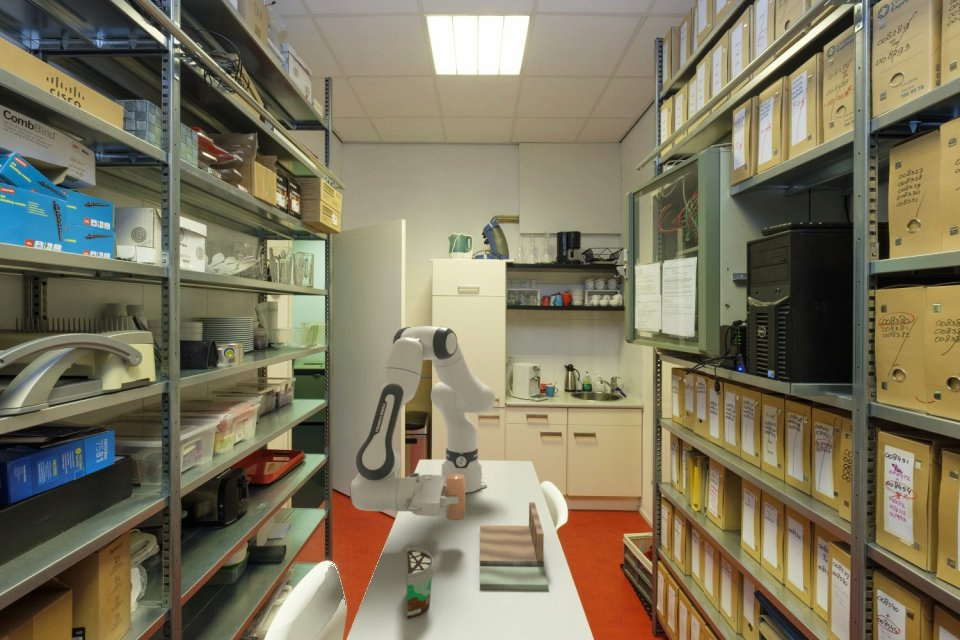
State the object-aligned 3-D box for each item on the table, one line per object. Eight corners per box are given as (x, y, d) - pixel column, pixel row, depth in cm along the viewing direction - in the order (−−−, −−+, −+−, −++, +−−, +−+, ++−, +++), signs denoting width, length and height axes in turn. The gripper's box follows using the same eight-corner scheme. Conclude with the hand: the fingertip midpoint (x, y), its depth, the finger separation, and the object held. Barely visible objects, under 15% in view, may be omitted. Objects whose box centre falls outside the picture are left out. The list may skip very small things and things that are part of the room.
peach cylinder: (446, 512, 134) (446, 473, 133) (465, 511, 134) (464, 473, 134) (446, 520, 128) (445, 480, 128) (465, 520, 129) (465, 480, 128)
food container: (436, 620, 98) (437, 573, 98) (407, 623, 97) (407, 575, 97) (433, 587, 110) (433, 544, 110) (406, 589, 109) (406, 546, 109)
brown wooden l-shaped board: (480, 532, 139) (480, 501, 139) (534, 532, 139) (534, 502, 139) (479, 589, 110) (480, 550, 110) (548, 589, 110) (548, 551, 110)
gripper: (403, 498, 120) (457, 498, 120) (414, 470, 141) (460, 471, 141) (403, 522, 121) (457, 522, 121) (414, 491, 141) (460, 491, 141)
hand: (459, 494), depth 131 cm, fingers closed on peach cylinder, 5 cm apart
